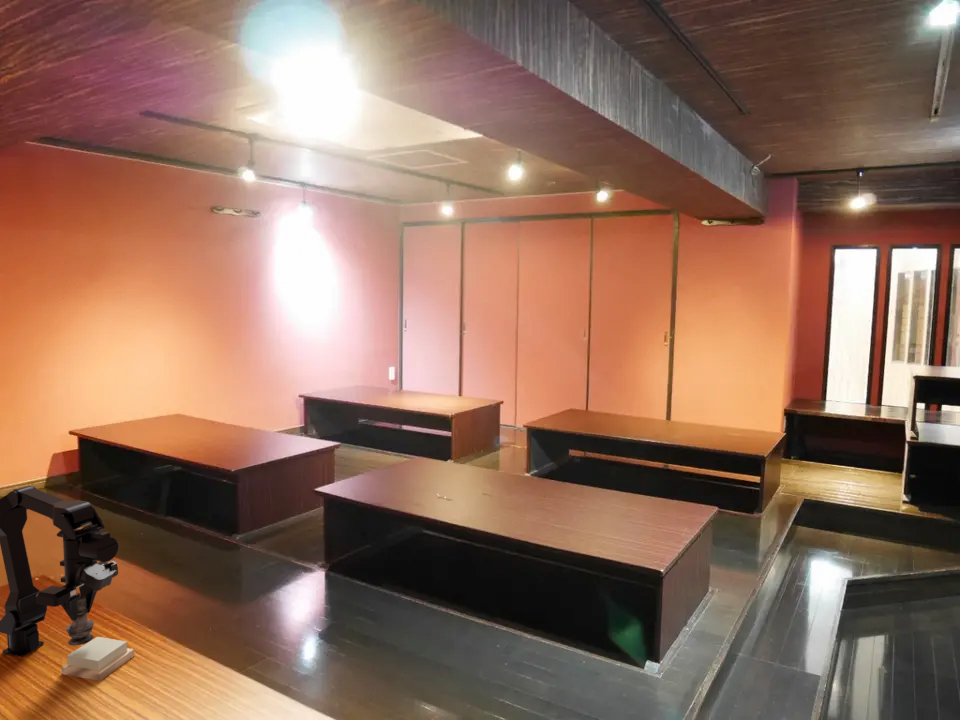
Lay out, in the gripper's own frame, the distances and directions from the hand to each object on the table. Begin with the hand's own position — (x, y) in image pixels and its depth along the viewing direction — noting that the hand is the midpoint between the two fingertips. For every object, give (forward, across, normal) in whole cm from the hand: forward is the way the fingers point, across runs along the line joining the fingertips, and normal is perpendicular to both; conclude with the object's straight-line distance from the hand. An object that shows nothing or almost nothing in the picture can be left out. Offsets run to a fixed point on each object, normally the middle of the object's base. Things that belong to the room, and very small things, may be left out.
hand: (80, 616), depth 156 cm
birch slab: (+14, +2, -3) cm, 14 cm away
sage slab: (+12, +2, -3) cm, 12 cm away
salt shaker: (+6, 0, 0) cm, 6 cm away
